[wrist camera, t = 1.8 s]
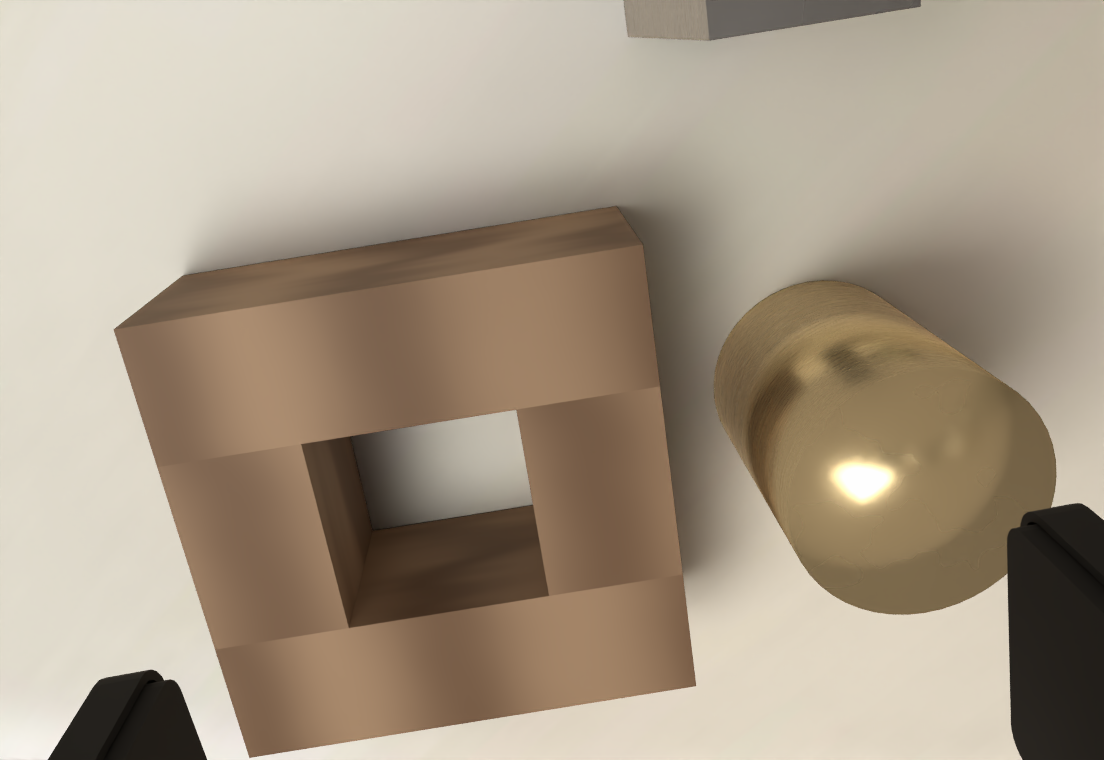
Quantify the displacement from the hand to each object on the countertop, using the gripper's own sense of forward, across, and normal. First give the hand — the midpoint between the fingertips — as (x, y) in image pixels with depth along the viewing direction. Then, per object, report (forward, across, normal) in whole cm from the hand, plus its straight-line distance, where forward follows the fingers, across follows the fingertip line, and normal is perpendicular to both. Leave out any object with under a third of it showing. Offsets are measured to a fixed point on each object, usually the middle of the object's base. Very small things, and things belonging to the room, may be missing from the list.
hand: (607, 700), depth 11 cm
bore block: (+22, +5, +6) cm, 23 cm away
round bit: (+22, -8, +6) cm, 25 cm away
